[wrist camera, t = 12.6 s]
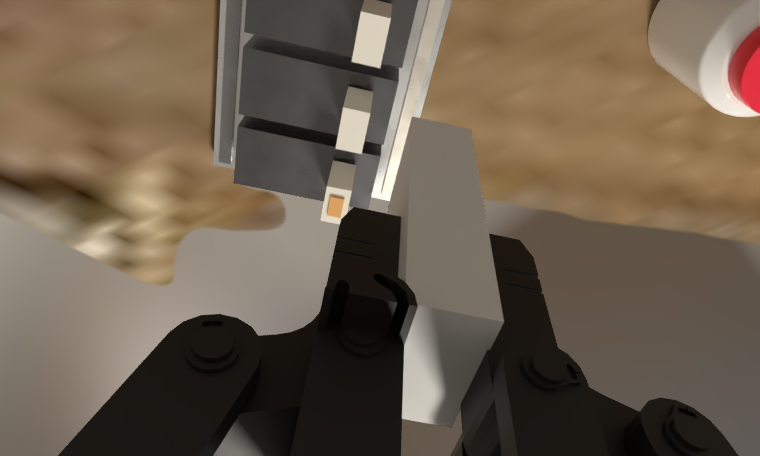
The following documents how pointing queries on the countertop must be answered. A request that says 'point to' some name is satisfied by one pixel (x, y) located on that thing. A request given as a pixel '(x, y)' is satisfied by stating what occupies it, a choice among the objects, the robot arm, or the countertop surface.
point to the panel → (317, 91)
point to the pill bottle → (711, 50)
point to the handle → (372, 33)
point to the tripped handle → (338, 192)
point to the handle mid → (354, 120)
